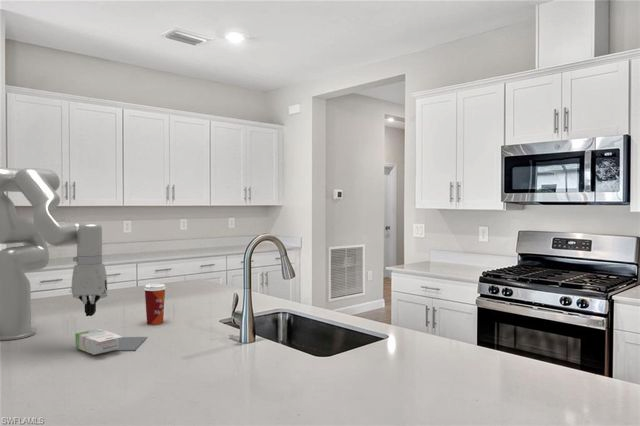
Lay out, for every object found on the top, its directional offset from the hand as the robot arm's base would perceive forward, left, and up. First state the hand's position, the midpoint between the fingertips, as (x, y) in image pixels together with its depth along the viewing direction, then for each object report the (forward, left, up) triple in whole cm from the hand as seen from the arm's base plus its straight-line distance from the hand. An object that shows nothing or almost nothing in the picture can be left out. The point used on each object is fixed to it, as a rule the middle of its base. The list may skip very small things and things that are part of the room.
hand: (90, 315), depth 154 cm
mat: (+9, 0, -10) cm, 14 cm away
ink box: (0, -1, -7) cm, 7 cm away
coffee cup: (+14, +27, -10) cm, 32 cm away
